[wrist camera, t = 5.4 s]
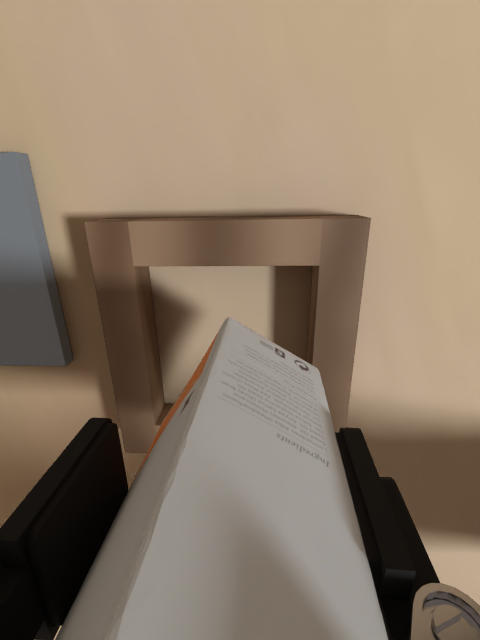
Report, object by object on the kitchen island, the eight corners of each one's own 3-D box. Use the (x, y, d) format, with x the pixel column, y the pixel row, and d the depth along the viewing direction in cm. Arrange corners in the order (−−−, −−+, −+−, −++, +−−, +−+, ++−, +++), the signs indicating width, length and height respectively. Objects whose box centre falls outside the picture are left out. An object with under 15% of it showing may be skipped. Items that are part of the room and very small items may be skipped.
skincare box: (226, 311, 12) (-205, 1406, 1) (320, 366, 13) (672, 1541, 2) (158, 422, 14) (-231, 1199, 3) (241, 466, 15) (155, 1282, 4)
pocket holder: (357, 215, 16) (370, 218, 14) (334, 435, 20) (341, 459, 18) (104, 218, 16) (83, 222, 15) (137, 429, 21) (125, 452, 19)
